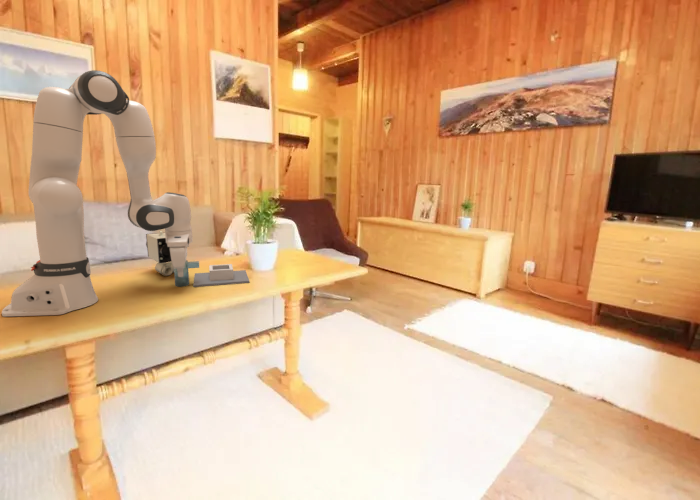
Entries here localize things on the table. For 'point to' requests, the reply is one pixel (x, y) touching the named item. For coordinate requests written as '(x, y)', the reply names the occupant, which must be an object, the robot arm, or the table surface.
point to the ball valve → (159, 252)
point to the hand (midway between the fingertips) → (181, 274)
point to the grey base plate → (220, 276)
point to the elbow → (185, 274)
